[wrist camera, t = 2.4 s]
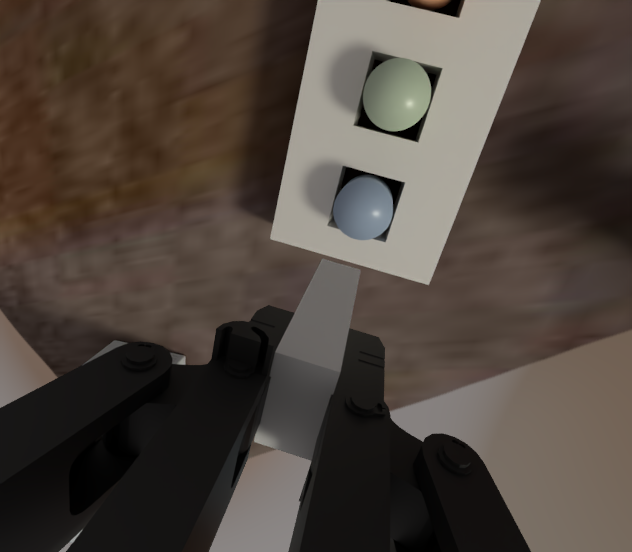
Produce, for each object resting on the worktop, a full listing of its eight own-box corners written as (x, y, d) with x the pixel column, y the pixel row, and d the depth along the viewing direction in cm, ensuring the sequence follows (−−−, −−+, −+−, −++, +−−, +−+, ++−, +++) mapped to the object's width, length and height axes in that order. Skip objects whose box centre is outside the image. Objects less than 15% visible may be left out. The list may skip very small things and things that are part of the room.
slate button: (347, 168, 32) (341, 174, 28) (399, 182, 31) (401, 190, 28) (333, 219, 33) (326, 231, 30) (383, 233, 33) (382, 246, 29)
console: (356, -124, 27) (350, -163, 23) (558, -81, 26) (585, -114, 22) (282, 227, 37) (270, 238, 34) (424, 268, 36) (428, 285, 33)
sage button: (376, 59, 29) (373, 50, 25) (434, 74, 28) (441, 67, 25) (359, 122, 30) (355, 122, 27) (414, 136, 30) (417, 138, 26)
